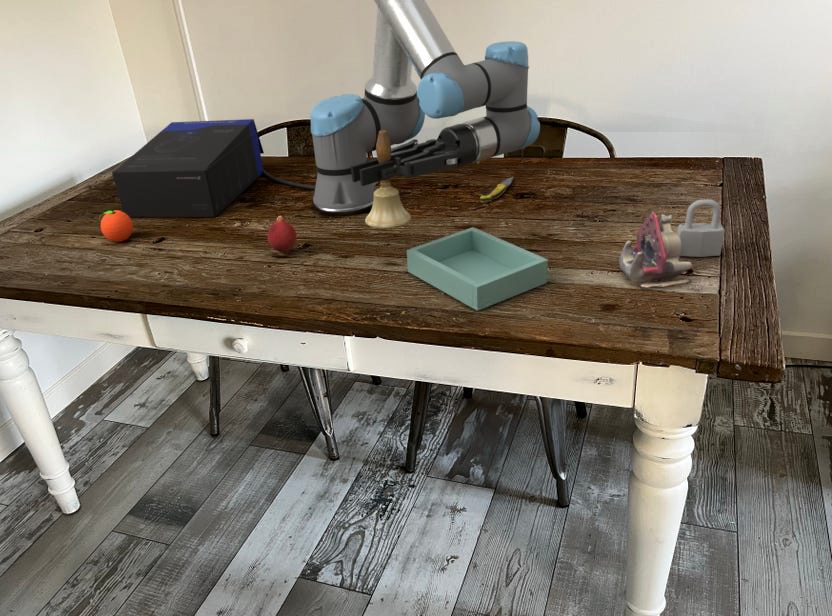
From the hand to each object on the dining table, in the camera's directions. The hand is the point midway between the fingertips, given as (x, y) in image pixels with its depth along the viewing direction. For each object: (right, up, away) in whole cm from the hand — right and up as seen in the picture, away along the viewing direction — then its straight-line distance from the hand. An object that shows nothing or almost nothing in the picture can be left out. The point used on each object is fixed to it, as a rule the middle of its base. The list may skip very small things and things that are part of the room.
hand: (357, 176), depth 127 cm
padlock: (+61, -13, +6) cm, 63 cm away
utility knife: (+33, +7, +43) cm, 55 cm away
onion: (-15, -10, +25) cm, 31 cm away
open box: (+21, -17, +7) cm, 28 cm away
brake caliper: (+51, -17, +1) cm, 53 cm away
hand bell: (+6, -6, +7) cm, 11 cm away
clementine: (-54, -5, +41) cm, 68 cm away
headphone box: (-40, +12, +65) cm, 77 cm away
